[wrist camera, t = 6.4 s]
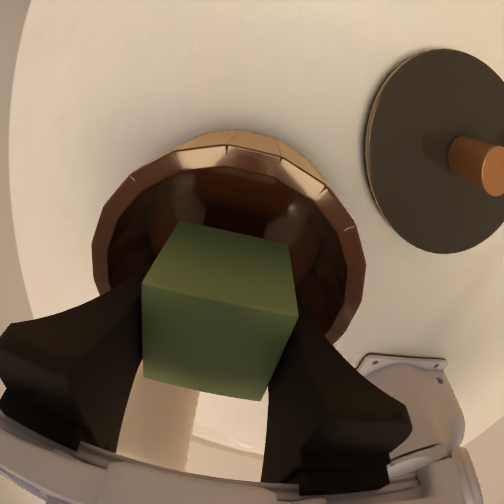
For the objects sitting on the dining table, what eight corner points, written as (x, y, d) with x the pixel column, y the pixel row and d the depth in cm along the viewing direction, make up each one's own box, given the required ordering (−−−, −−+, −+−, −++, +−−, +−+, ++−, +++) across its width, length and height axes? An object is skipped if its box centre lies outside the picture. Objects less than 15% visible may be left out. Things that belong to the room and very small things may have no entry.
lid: (531, 109, 12) (573, 121, 8) (478, 262, 18) (509, 296, 14) (389, 14, 11) (427, -6, 7) (332, 218, 17) (352, 256, 13)
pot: (361, 162, 15) (408, 195, 10) (300, 325, 20) (308, 394, 15) (150, 114, 14) (95, 124, 9) (135, 290, 20) (102, 351, 14)
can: (140, 375, 24) (102, 492, 13) (117, 321, 21) (53, 455, 10) (210, 380, 24) (191, 512, 13) (198, 324, 21) (160, 486, 10)
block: (288, 243, 12) (299, 315, 8) (261, 325, 14) (260, 402, 10) (179, 219, 12) (140, 281, 8) (170, 305, 14) (142, 377, 10)
